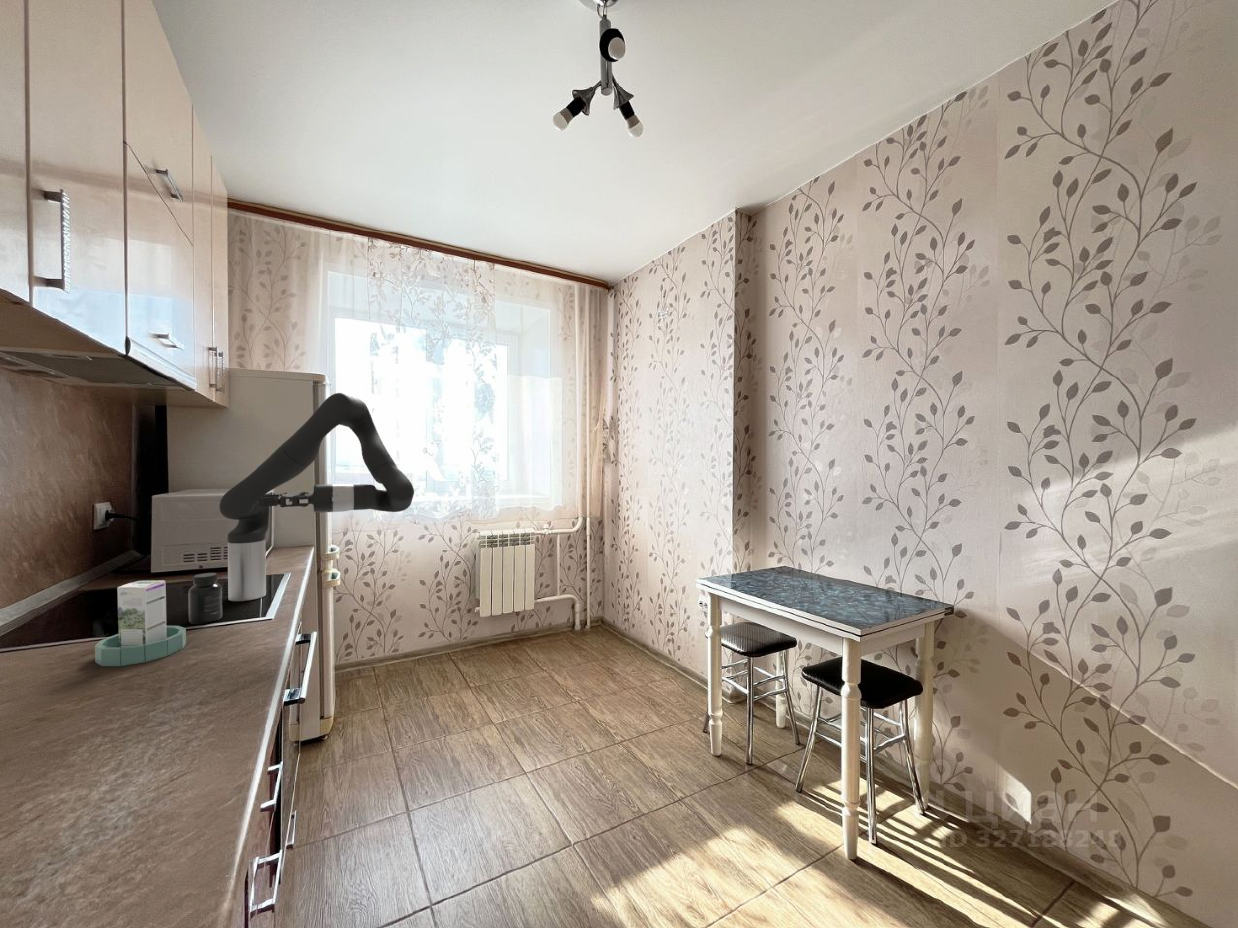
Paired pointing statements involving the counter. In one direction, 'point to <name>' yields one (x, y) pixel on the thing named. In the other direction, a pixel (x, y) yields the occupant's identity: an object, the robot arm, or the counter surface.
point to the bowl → (139, 649)
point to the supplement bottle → (205, 599)
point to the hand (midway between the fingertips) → (260, 500)
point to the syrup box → (141, 613)
